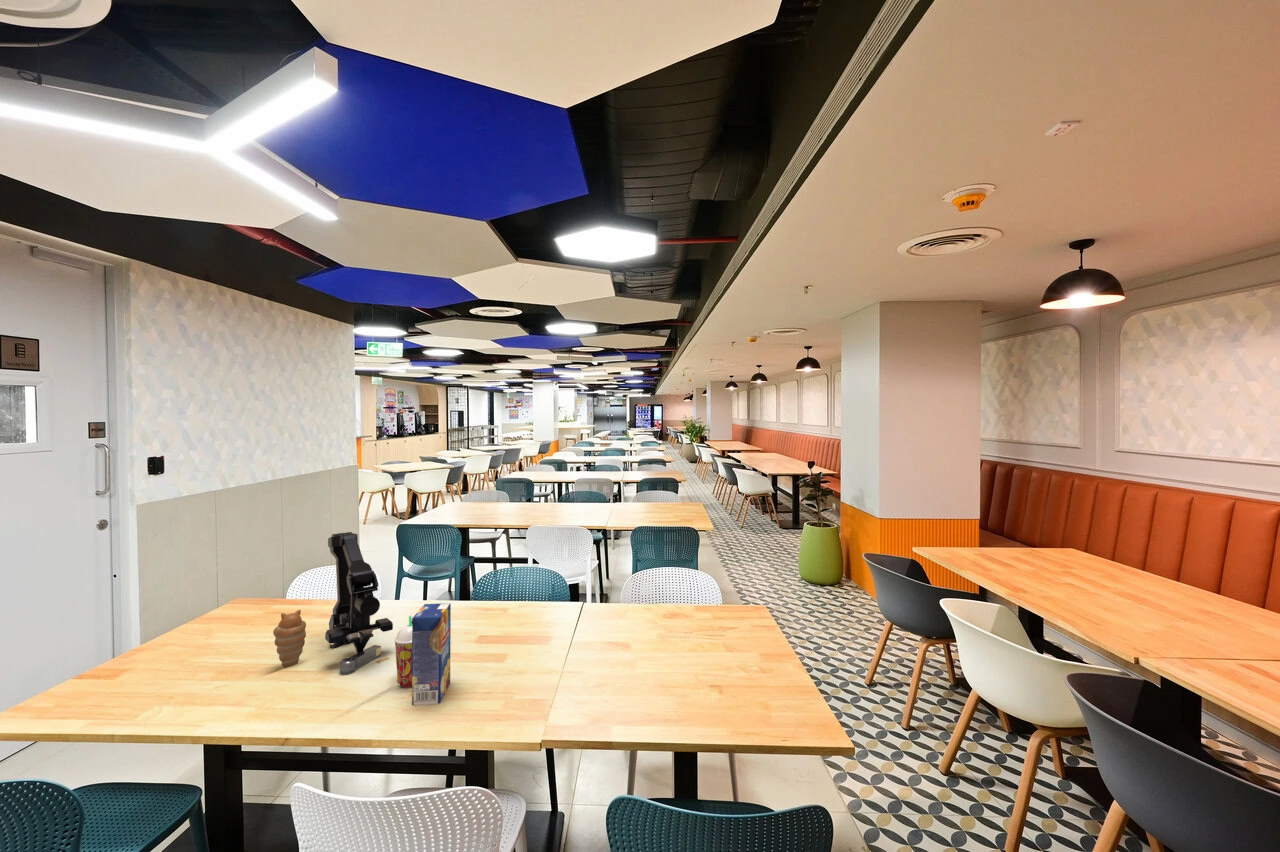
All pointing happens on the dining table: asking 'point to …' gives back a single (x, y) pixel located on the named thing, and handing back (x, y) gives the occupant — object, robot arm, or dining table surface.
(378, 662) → the brass stop
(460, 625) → the dining table surface
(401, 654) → the smoothie
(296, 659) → the cat ice cream
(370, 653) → the swing bar
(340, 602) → the robot arm
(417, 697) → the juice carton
